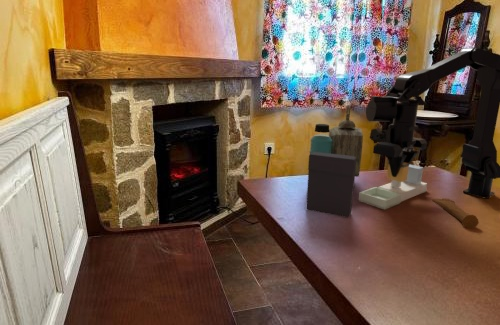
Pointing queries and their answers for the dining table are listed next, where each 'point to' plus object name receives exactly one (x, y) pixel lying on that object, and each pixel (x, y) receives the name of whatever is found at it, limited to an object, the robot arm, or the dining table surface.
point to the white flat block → (406, 189)
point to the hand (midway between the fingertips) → (397, 175)
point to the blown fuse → (398, 175)
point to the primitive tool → (457, 212)
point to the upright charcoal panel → (331, 183)
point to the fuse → (414, 174)
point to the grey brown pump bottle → (347, 140)
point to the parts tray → (379, 198)
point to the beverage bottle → (321, 140)
